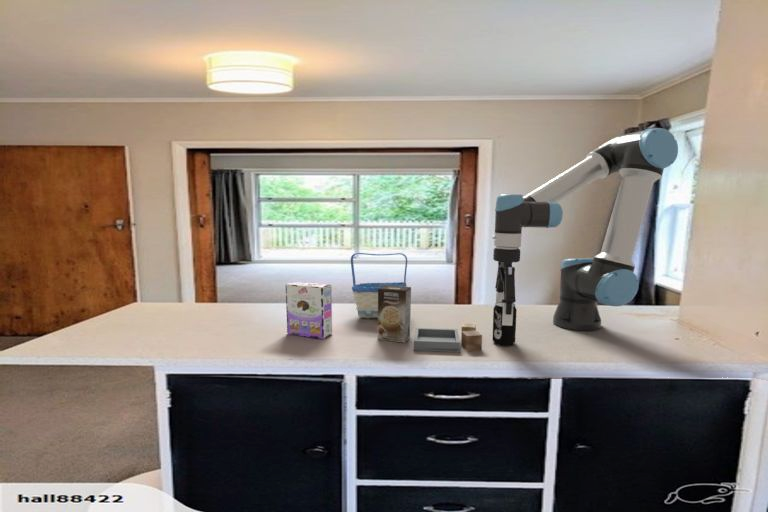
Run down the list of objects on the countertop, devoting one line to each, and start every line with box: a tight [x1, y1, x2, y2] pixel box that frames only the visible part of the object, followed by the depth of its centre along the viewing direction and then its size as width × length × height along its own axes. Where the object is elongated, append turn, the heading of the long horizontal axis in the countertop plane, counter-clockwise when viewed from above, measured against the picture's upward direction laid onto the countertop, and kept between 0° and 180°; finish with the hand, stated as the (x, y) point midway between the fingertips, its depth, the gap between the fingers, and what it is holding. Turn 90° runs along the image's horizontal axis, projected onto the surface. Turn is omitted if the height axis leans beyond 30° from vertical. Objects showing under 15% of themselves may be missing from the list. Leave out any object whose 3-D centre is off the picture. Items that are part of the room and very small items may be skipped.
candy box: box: [285, 280, 333, 340], centre depth 140 cm, size 14×6×16 cm, turn 65°
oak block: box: [460, 322, 477, 340], centre depth 138 cm, size 4×4×4 cm
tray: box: [413, 327, 461, 353], centre depth 131 cm, size 13×13×3 cm
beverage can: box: [492, 301, 517, 347], centre depth 132 cm, size 7×7×12 cm
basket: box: [350, 252, 408, 319], centre depth 162 cm, size 21×16×24 cm
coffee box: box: [376, 285, 412, 343], centre depth 136 cm, size 9×6×16 cm
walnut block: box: [460, 330, 483, 352], centre depth 128 cm, size 4×4×4 cm
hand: (503, 319), depth 131 cm, fingers open, 13 cm apart
